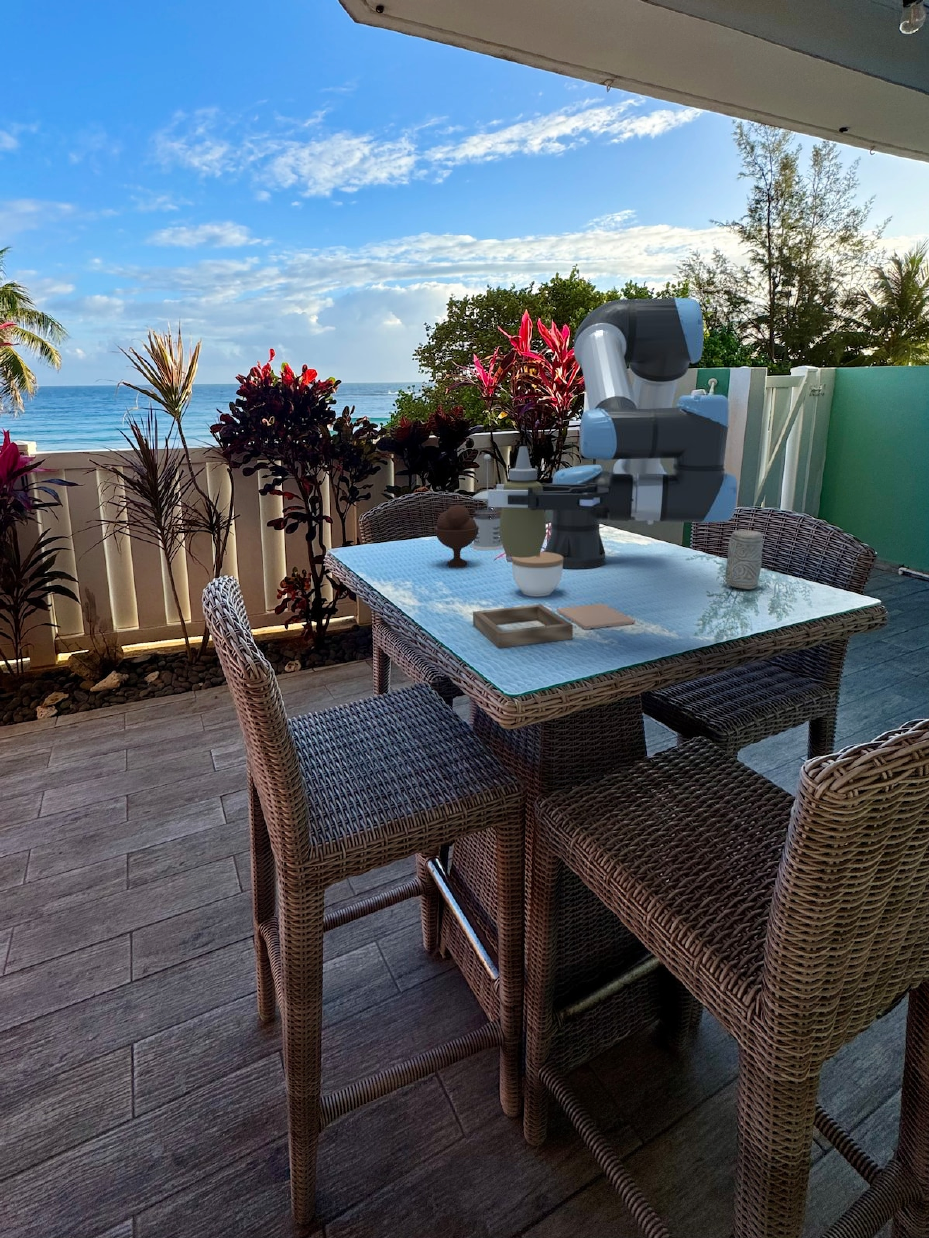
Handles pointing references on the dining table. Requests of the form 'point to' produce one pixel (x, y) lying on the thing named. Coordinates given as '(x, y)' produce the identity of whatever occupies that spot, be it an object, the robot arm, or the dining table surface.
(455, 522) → the ice cream bowl
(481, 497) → the french press
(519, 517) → the squeeze bottle
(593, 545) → the robot arm
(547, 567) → the lidded jar
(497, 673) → the dining table surface
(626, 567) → the dining table surface
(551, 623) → the wooden frame
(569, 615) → the tile
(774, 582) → the dining table surface
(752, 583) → the carving
